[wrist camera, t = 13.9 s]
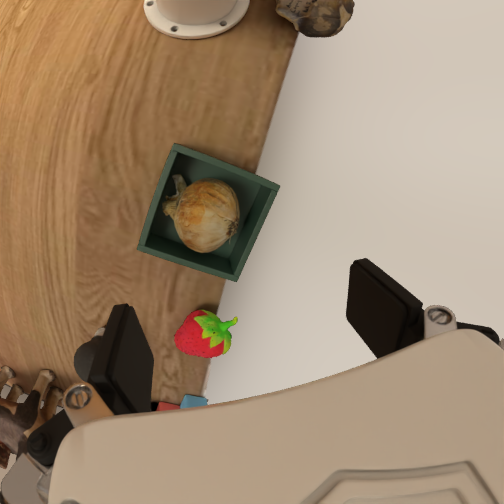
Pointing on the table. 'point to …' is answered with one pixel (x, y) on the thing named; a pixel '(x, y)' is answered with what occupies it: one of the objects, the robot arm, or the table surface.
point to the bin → (250, 221)
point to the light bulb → (87, 355)
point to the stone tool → (316, 15)
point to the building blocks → (183, 403)
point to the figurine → (23, 414)
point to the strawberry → (204, 334)
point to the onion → (203, 212)
